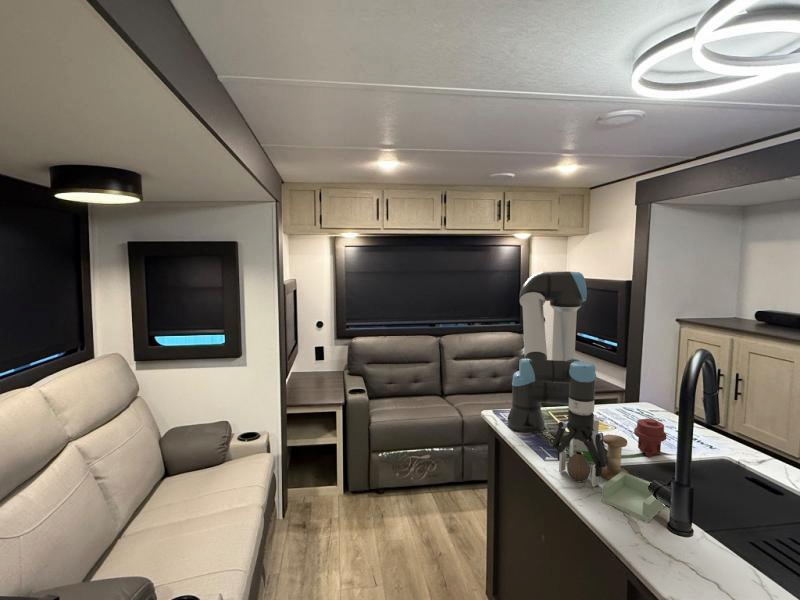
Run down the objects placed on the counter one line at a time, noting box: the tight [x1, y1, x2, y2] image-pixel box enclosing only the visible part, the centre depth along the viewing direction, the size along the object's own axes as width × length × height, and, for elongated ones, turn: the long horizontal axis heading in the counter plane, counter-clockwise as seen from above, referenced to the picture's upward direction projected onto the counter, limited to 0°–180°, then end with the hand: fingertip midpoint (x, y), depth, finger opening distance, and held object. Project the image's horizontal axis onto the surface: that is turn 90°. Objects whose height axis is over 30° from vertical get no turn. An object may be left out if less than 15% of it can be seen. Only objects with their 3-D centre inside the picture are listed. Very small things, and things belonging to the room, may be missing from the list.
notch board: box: [599, 472, 665, 523], centre depth 124 cm, size 13×13×5 cm
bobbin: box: [600, 434, 630, 481], centre depth 139 cm, size 9×9×12 cm
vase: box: [566, 451, 591, 483], centre depth 137 cm, size 7×7×9 cm
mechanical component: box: [633, 418, 667, 458], centre depth 153 cm, size 12×10×10 cm
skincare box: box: [568, 414, 600, 465], centre depth 150 cm, size 8×7×16 cm
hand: (578, 477), depth 137 cm, fingers open, 10 cm apart
